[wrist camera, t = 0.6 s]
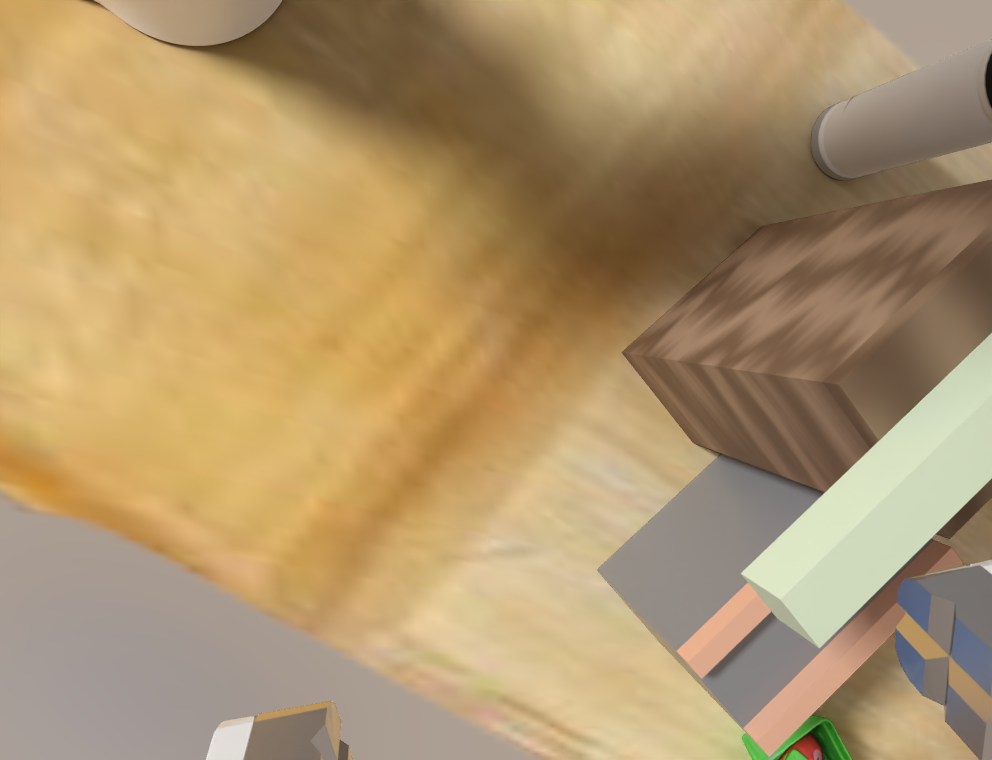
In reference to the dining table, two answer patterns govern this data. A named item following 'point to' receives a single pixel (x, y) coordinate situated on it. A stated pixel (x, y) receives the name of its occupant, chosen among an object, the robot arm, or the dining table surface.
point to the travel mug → (909, 118)
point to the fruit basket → (805, 743)
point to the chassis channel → (746, 599)
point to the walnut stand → (827, 333)
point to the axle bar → (882, 506)
